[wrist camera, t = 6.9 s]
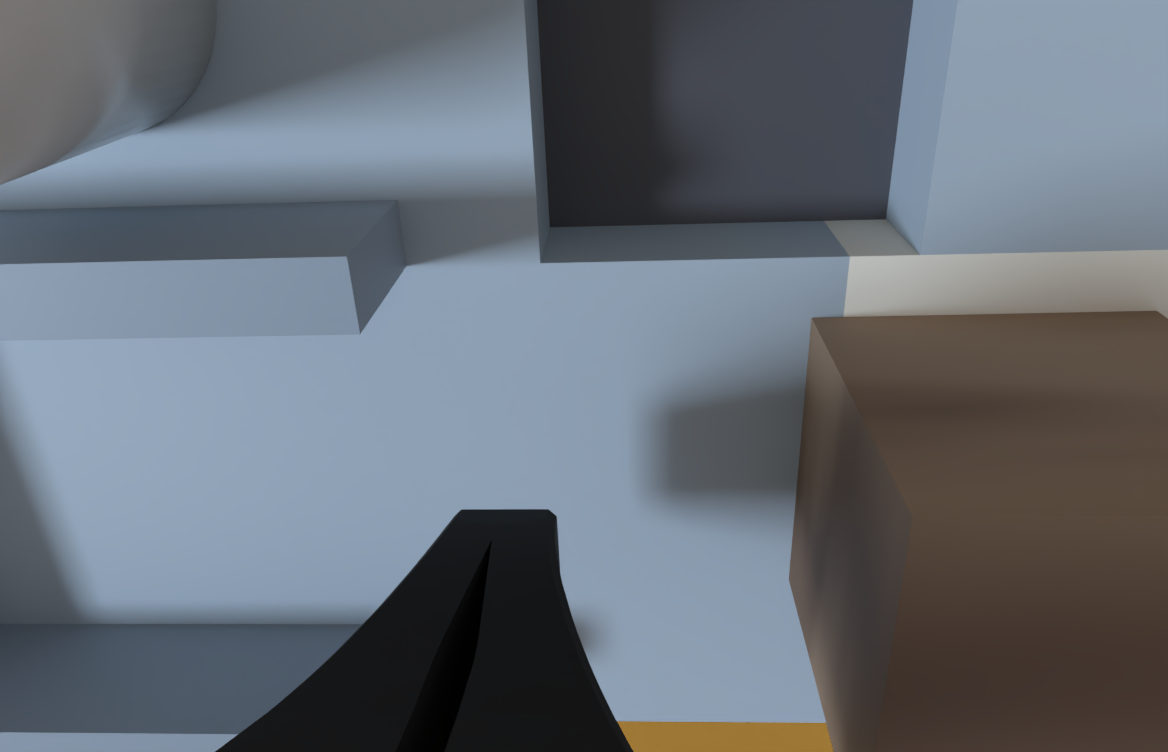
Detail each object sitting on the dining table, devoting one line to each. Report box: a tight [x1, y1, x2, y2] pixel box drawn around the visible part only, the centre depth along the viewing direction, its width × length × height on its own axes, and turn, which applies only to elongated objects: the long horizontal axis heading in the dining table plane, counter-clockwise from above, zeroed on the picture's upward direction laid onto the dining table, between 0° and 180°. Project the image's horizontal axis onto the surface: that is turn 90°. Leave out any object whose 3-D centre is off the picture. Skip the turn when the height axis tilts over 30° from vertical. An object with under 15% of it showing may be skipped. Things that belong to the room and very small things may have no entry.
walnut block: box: [789, 311, 1168, 752], centre depth 12 cm, size 5×5×5 cm
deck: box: [0, 0, 1168, 752], centre depth 13 cm, size 17×24×4 cm
